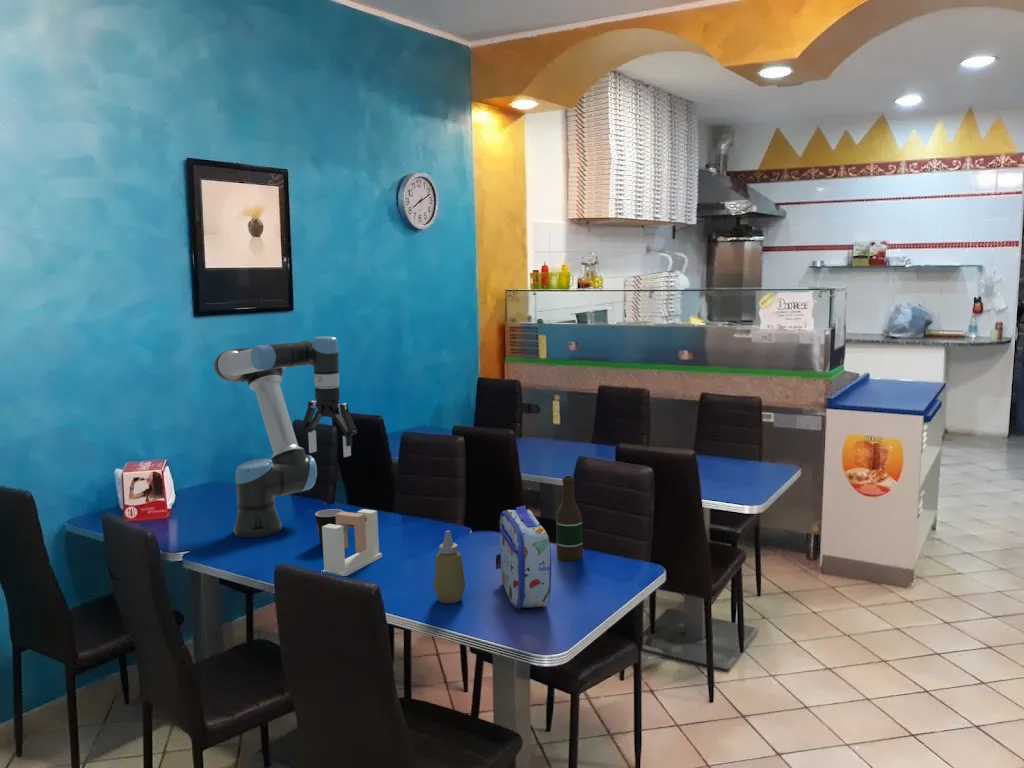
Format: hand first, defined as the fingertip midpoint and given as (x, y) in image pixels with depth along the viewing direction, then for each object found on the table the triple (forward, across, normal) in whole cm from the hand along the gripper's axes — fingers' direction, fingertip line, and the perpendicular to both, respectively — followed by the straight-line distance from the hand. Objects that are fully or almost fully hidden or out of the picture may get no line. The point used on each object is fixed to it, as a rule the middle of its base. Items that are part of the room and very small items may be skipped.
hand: (329, 454), depth 259 cm
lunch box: (+26, +76, -17) cm, 82 cm away
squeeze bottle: (+26, +60, -27) cm, 71 cm away
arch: (+22, +21, -17) cm, 35 cm away
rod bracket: (+27, +21, -17) cm, 38 cm away
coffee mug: (+28, +2, -2) cm, 28 cm away
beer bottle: (+26, +75, +14) cm, 81 cm away
